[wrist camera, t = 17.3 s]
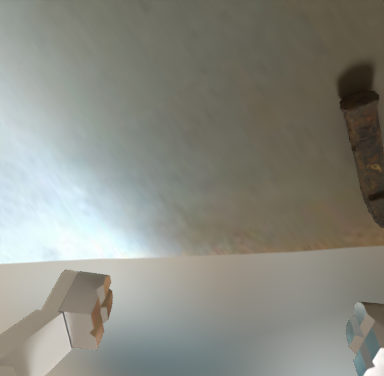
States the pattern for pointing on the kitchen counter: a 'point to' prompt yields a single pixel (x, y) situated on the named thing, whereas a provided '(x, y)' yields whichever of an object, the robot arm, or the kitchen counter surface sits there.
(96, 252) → the kitchen counter surface
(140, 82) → the kitchen counter surface
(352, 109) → the hand tool
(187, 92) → the kitchen counter surface
